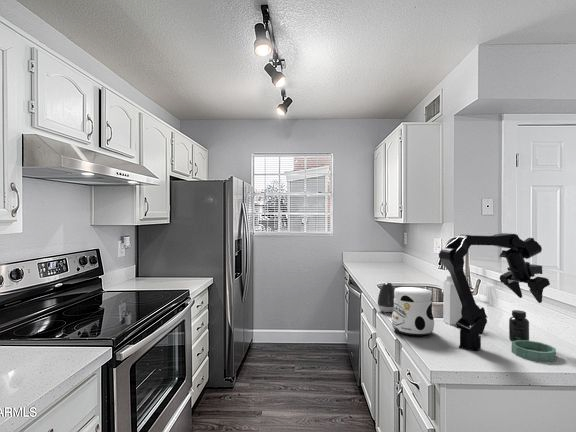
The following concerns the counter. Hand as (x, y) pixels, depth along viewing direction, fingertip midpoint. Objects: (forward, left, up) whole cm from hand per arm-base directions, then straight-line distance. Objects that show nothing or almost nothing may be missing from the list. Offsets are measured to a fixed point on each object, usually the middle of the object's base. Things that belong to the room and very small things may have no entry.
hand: (530, 300), depth 144 cm
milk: (-31, +13, -18) cm, 38 cm away
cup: (+1, -13, -17) cm, 21 cm away
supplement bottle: (-4, +1, -18) cm, 18 cm away
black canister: (-63, +16, -18) cm, 67 cm away
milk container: (-42, -12, -18) cm, 47 cm away
